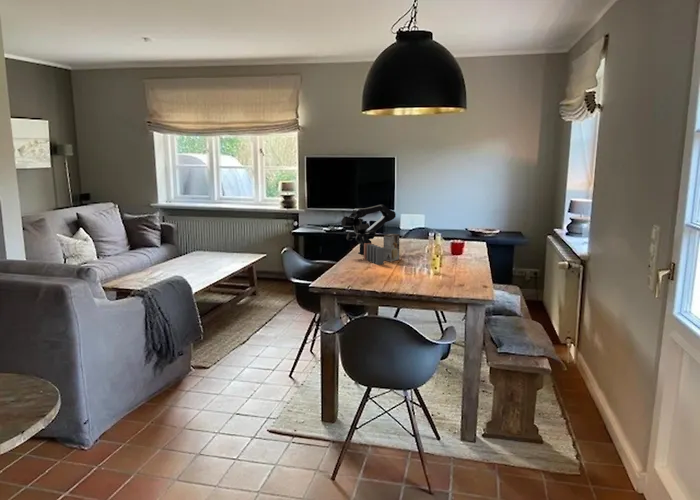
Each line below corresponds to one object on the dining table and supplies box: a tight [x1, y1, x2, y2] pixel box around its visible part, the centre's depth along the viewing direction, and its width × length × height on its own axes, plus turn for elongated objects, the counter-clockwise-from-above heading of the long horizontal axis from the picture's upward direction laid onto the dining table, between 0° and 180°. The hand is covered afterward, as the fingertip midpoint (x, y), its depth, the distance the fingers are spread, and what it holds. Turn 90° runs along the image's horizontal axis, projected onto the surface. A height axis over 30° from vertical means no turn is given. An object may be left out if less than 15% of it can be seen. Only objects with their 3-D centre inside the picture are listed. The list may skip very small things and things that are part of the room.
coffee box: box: [383, 233, 400, 262], centre depth 337 cm, size 9×6×16 cm
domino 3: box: [372, 245, 381, 264], centre depth 329 cm, size 2×4×10 cm, turn 112°
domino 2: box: [369, 244, 378, 263], centre depth 333 cm, size 2×4×10 cm, turn 112°
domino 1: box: [366, 243, 375, 262], centre depth 337 cm, size 2×4×10 cm, turn 112°
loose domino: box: [363, 242, 373, 260], centre depth 341 cm, size 2×4×10 cm, turn 112°
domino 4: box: [375, 246, 385, 266], centre depth 325 cm, size 2×4×10 cm, turn 112°
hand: (364, 245), depth 345 cm, fingers closed
